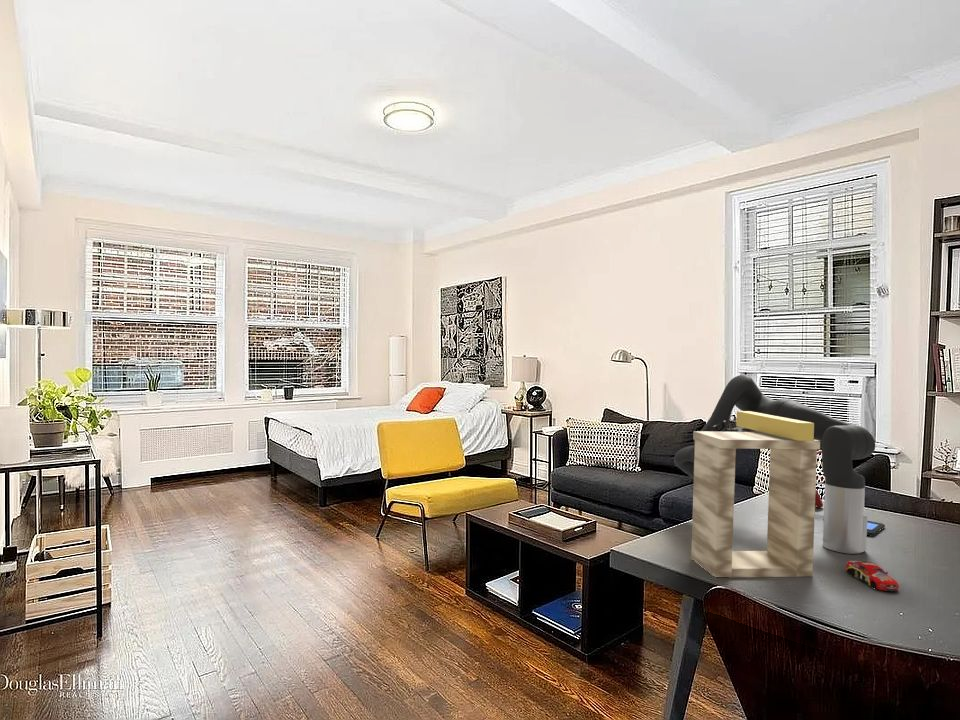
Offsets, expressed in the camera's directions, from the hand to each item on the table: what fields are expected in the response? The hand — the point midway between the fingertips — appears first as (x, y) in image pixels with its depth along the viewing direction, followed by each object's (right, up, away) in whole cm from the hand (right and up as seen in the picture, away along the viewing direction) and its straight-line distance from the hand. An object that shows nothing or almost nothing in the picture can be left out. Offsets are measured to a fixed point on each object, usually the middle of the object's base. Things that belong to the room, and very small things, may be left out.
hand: (740, 424), depth 164 cm
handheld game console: (+43, -34, +19) cm, 58 cm away
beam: (+1, -1, -14) cm, 14 cm away
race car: (+19, -34, -25) cm, 47 cm away
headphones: (+47, -34, +40) cm, 71 cm away
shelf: (-6, -33, -19) cm, 38 cm away
